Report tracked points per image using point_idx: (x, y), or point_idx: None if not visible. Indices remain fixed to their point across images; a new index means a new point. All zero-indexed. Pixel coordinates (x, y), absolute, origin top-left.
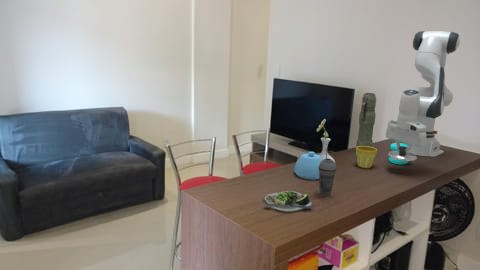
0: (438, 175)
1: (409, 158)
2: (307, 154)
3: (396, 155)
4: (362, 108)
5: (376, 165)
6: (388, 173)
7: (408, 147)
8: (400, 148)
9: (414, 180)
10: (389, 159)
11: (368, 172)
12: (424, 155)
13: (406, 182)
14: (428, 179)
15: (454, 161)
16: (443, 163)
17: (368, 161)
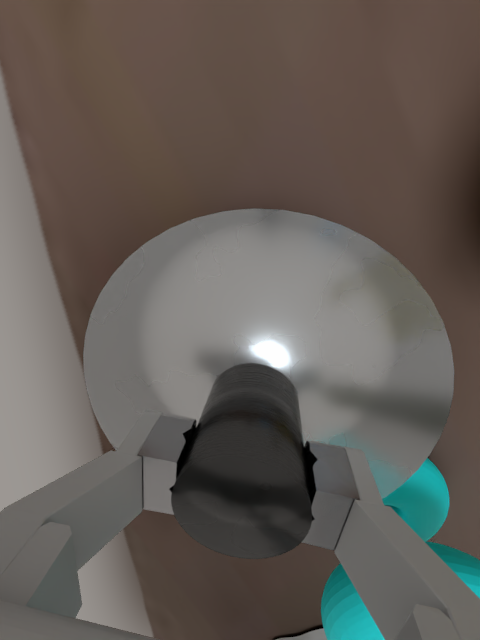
0: (97, 430)
1: (107, 327)
2: None
3: (288, 308)
4: None
5: (471, 303)
6: (298, 192)
7: (66, 485)
8: (269, 441)
9: (92, 219)
10: (429, 461)
11: (461, 10)
12: (311, 635)
13: (85, 106)
14: (71, 322)
15: (189, 631)
16: (199, 591)
17: None
